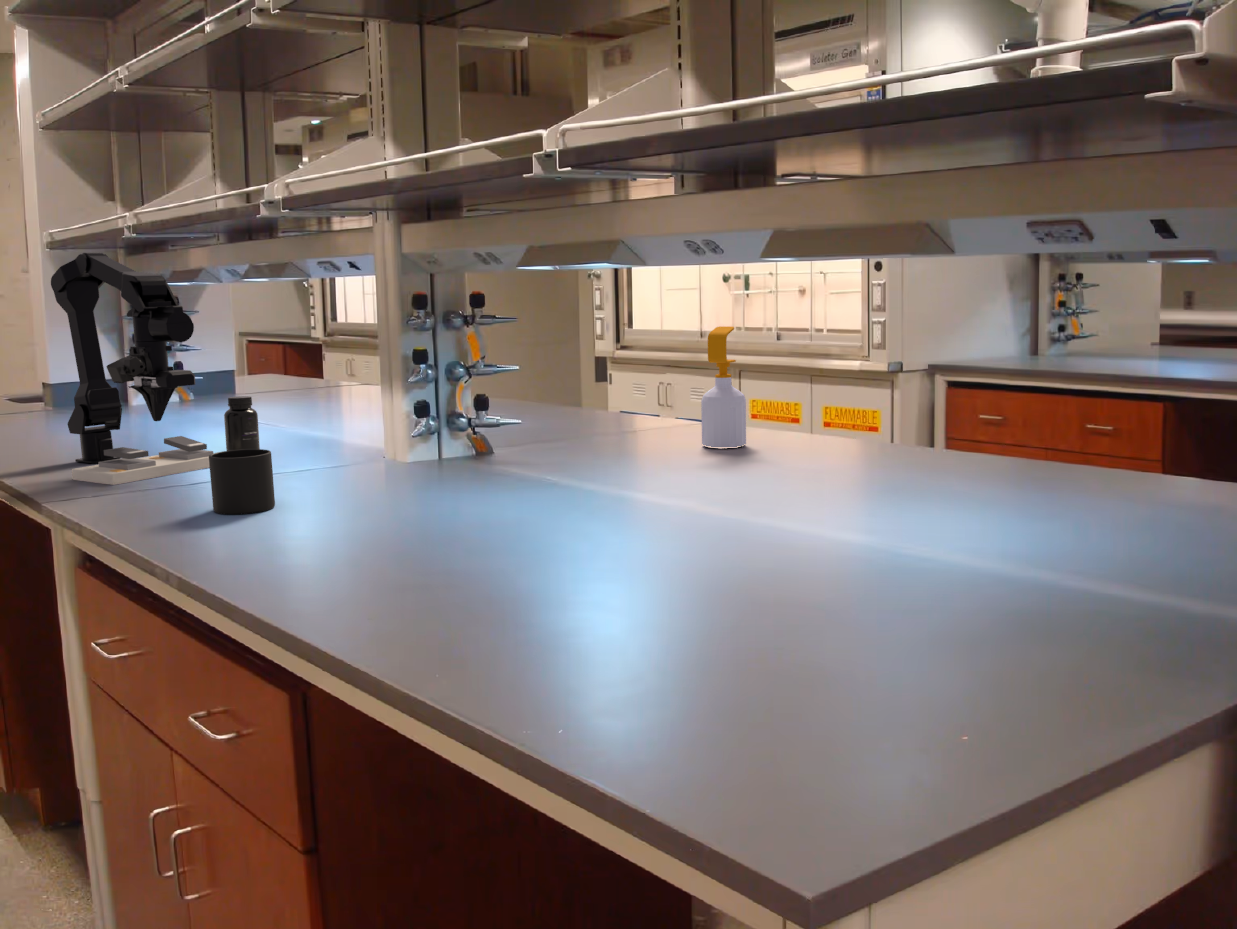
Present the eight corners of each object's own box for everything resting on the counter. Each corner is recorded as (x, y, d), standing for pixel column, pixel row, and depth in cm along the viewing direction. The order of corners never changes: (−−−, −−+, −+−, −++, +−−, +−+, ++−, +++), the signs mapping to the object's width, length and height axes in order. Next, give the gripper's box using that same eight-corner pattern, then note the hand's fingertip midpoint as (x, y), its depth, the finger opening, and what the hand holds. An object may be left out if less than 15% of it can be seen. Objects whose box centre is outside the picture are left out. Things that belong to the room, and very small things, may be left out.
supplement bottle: (254, 455, 239) (249, 398, 237) (222, 455, 239) (217, 399, 237) (264, 450, 246) (260, 394, 244) (233, 450, 246) (229, 395, 244)
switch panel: (72, 479, 213) (70, 464, 213) (186, 460, 234) (185, 446, 234) (113, 485, 206) (111, 469, 206) (227, 464, 227) (226, 450, 227)
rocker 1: (104, 455, 215) (103, 449, 215) (123, 452, 219) (122, 446, 218) (129, 459, 211) (129, 453, 211) (148, 456, 214) (148, 450, 214)
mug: (270, 498, 189) (266, 445, 188) (278, 511, 179) (274, 454, 177) (210, 504, 186) (206, 449, 184) (215, 517, 175) (210, 460, 174)
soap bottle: (753, 444, 235) (752, 325, 231) (733, 450, 228) (732, 328, 224) (714, 442, 240) (713, 325, 236) (694, 448, 232) (692, 327, 228)
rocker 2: (163, 443, 226) (163, 438, 226) (181, 440, 229) (181, 435, 229) (189, 452, 222) (189, 446, 222) (206, 449, 225) (206, 443, 225)
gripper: (84, 342, 217) (91, 422, 220) (140, 344, 207) (147, 429, 209) (137, 338, 226) (143, 416, 229) (193, 341, 216) (200, 422, 218)
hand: (157, 420), depth 221 cm, fingers closed
